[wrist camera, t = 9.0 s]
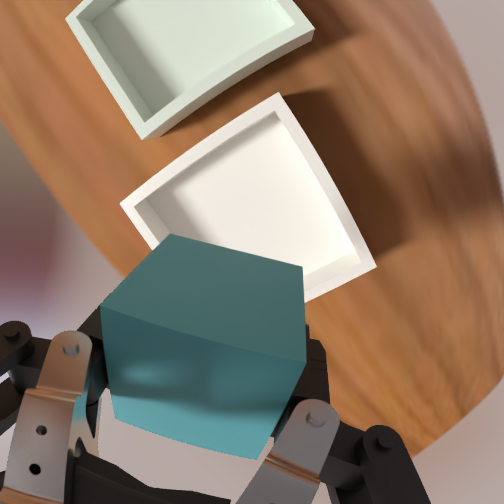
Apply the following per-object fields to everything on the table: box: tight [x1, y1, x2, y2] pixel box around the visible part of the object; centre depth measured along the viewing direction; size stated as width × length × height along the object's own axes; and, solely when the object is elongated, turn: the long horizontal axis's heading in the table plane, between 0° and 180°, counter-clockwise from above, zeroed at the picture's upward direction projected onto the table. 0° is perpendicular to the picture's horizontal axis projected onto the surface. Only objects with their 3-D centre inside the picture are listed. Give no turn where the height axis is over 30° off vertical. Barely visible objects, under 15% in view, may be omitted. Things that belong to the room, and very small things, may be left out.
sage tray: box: [65, 0, 315, 140], centre depth 16 cm, size 13×13×3 cm
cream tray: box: [120, 92, 377, 303], centre depth 21 cm, size 13×13×3 cm
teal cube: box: [100, 234, 307, 460], centre depth 10 cm, size 5×5×5 cm
